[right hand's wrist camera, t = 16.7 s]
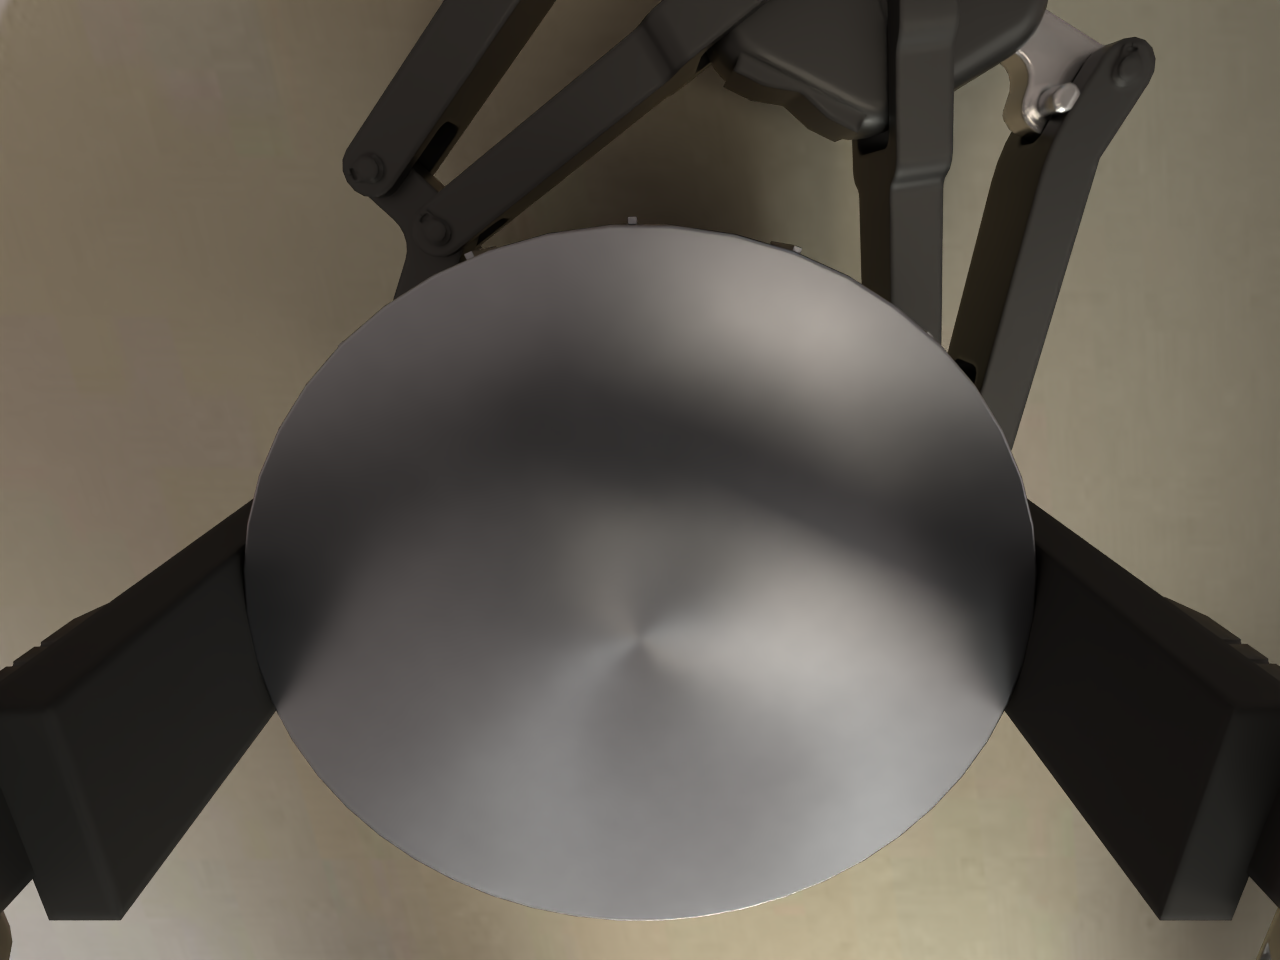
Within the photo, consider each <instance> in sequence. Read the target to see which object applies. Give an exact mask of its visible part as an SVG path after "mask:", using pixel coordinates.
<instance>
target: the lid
mask: <svg viewBox="0 0 1280 960" xmlns="http://www.w3.org/2000/svg"><path fill="white" fill-rule="evenodd" d="M801 250H802V248H800V247H798V246H795V245H790V244H784V243H778V242H771V243H770V244H768V243H764V242H761V241H757V240H754V239H750V238H747V237H744V236H740V235H737V234H732V233H725V232H719V231H712V230H705V229H698V228H691V227H684V226H677V225H670V224H637V217H628V224H611V225H604V226H597V227H589V228H582V229H575V230H568V231H561V232H554V233H548V234H544V235H541V236H537V237H534V238H530V239H527V240H523V241H520V242H516V243H513V244H509V245H505V246H502V247H497V246H496V247H491V248H485V249H480V250H475V251H470V252H468V253H466V254H464V255H465V258H466V261H463V262H461V263H459V264H457V265H455V266H452V267H450V268H448V269H446V270H443V271H441V272H439V273H437V274H434V275H432V276H431V277H429V278H428V279H426V280H425V281H423V282H421V283H420V284H418V285H417V286H415V287H414V288H412V289H410V290H409V291H407V292H406V293H404V294H402V295H401V296H399V297H398V298H396V299H395V300H393V301H391V302H390V303H388V304H387V305H385V306H384V307H383V308H381V309H380V310H379V311H378V312H377V313H376V314H374V315H373V316H372V317H371V318H370V319H369V320H367V321H366V322H365V323H364V324H363V325H362V326H361V327H359V328H358V329H357V330H356V331H355V332H354V333H352V334H351V335H350V336H349V337H348V338H347V339H346V340H344V341H342V342H341V343H340V344H339V345H338V348H337V349H336V350H335V351H334V352H333V353H332V355H331V356H330V357H329V358H328V359H327V360H326V362H325V363H324V364H323V365H322V366H321V368H320V369H319V370H318V371H317V372H316V373H315V375H314V376H313V377H312V378H311V379H310V380H309V382H308V383H307V384H306V385H305V387H304V389H303V390H302V392H301V393H300V395H299V397H298V398H297V400H296V402H295V403H294V405H293V406H292V408H291V410H290V411H289V413H288V415H287V416H286V418H285V419H284V421H283V423H282V424H281V426H280V427H279V429H278V432H277V434H276V436H275V439H274V441H273V444H272V446H271V448H270V451H269V453H268V455H267V458H266V460H265V463H264V465H263V467H262V470H261V472H260V475H259V478H258V482H257V486H256V490H255V495H254V499H253V503H252V507H251V511H250V515H249V519H248V523H247V535H246V546H245V558H244V570H243V571H244V586H245V601H246V613H247V618H248V623H249V627H250V632H251V636H252V641H253V645H254V650H255V655H256V659H257V663H258V667H259V669H260V672H261V675H262V677H263V680H264V683H265V685H266V688H267V691H268V693H269V696H270V699H271V702H272V703H273V705H274V707H275V709H276V711H277V713H278V715H279V716H280V718H281V720H282V722H283V724H284V726H285V728H286V729H287V731H288V733H289V735H290V737H291V739H292V741H293V742H294V743H295V745H296V746H297V747H298V749H299V750H300V752H301V753H302V754H303V756H304V757H305V759H306V760H307V761H308V763H309V764H310V766H311V767H312V768H313V770H314V771H315V773H316V774H317V775H318V776H319V778H320V779H321V780H322V781H323V782H324V783H325V784H326V785H327V786H328V787H329V788H330V790H331V791H332V792H333V793H334V794H335V795H336V796H337V797H338V798H339V799H340V800H341V801H342V803H343V804H344V805H345V806H346V807H347V808H348V809H349V810H351V811H352V812H353V813H354V814H355V815H356V816H358V817H359V818H360V819H361V820H362V821H363V822H365V823H366V824H367V825H368V826H369V827H370V828H372V829H373V830H374V831H375V832H376V833H377V834H379V835H380V836H381V837H383V838H384V839H386V840H387V841H389V842H390V843H392V844H393V845H395V846H396V847H397V848H399V849H400V850H402V851H403V852H405V853H406V854H408V855H409V856H411V857H412V858H414V859H415V860H417V861H419V862H421V863H423V864H424V865H426V866H428V867H430V868H432V869H434V870H436V871H438V872H439V873H441V874H443V875H445V876H447V877H449V878H451V879H452V880H455V881H457V882H460V883H462V884H465V885H467V886H469V887H472V888H474V889H477V890H479V891H482V892H484V893H487V894H489V895H491V896H494V897H498V898H501V899H504V900H508V901H511V902H515V903H518V904H521V905H525V906H528V907H531V908H535V909H541V910H546V911H551V912H556V913H561V914H566V915H571V916H578V917H588V918H598V919H608V920H650V921H661V920H672V919H683V918H693V917H704V916H709V915H714V914H719V913H725V912H730V911H735V910H740V909H746V908H749V907H752V906H756V905H759V904H763V903H766V902H769V901H773V900H776V899H780V898H783V897H787V896H789V895H792V894H794V893H796V892H799V891H801V890H804V889H806V888H809V887H811V886H814V885H816V884H819V883H821V882H824V881H826V880H828V879H830V878H832V877H834V876H836V875H837V874H839V873H841V872H843V871H845V870H847V869H849V868H851V867H853V866H854V865H856V864H858V863H860V862H862V861H864V860H865V859H867V858H868V857H870V856H871V855H873V854H874V853H876V852H877V851H879V850H880V849H882V848H883V847H885V846H886V845H888V844H889V843H891V842H892V841H894V840H895V839H897V838H898V837H899V836H901V835H902V834H903V833H904V832H905V831H907V830H908V829H909V828H910V827H911V826H912V825H914V824H915V823H916V822H917V821H918V820H920V819H921V818H922V817H923V816H924V815H925V814H927V813H928V812H929V811H930V810H931V809H932V808H933V807H934V806H935V805H936V804H937V803H938V802H939V801H940V800H941V799H942V798H943V797H944V796H945V794H946V793H947V792H948V791H949V790H950V789H951V788H952V787H953V786H954V785H955V784H956V783H957V782H958V780H959V779H960V778H961V777H962V776H963V775H964V773H965V772H966V771H967V769H968V768H969V766H970V765H971V764H972V762H973V761H974V759H975V758H976V757H977V755H978V754H979V753H980V751H981V750H982V748H983V747H984V746H985V744H986V743H987V741H988V740H989V738H990V736H991V734H992V732H993V730H994V729H995V727H996V725H997V723H998V721H999V719H1000V718H1001V716H1002V714H1003V712H1004V710H1005V708H1006V706H1007V705H1008V703H1009V700H1010V697H1011V695H1012V692H1013V689H1014V687H1015V684H1016V681H1017V679H1018V676H1019V674H1020V671H1021V668H1022V666H1023V662H1024V658H1025V653H1026V649H1027V644H1028V640H1029V635H1030V630H1031V626H1032V621H1033V617H1034V608H1035V594H1036V580H1037V565H1036V553H1035V541H1034V528H1033V522H1032V518H1031V513H1030V509H1029V505H1028V501H1027V497H1026V493H1025V488H1024V484H1023V480H1022V476H1021V474H1020V471H1019V469H1018V467H1017V464H1016V462H1015V459H1014V457H1013V455H1012V452H1011V450H1010V447H1009V445H1008V442H1007V440H1006V438H1005V435H1004V433H1003V430H1002V429H1001V427H1000V425H999V424H998V422H997V421H996V419H995V417H994V416H993V414H992V412H991V411H990V409H989V407H988V406H987V404H986V402H985V401H984V399H983V398H982V396H981V394H980V393H979V391H978V389H977V388H976V386H975V385H974V384H973V382H972V381H971V380H970V379H969V378H968V377H967V375H966V374H965V373H964V372H963V371H962V369H961V368H960V367H959V366H958V365H957V364H956V362H955V361H954V360H953V359H952V358H951V356H950V355H949V354H948V353H947V352H946V351H945V349H944V348H943V347H942V346H941V345H940V344H939V343H938V342H937V341H936V340H935V339H934V338H932V337H933V335H932V334H931V333H930V332H929V331H926V330H924V329H922V328H921V327H920V326H919V325H917V324H916V323H915V322H914V321H913V320H912V319H911V318H909V317H908V316H907V315H906V314H905V313H904V312H903V311H901V310H900V309H899V308H898V307H897V306H895V305H893V304H892V303H890V302H889V301H887V300H886V299H884V298H882V297H881V296H879V295H878V294H876V293H875V292H873V291H872V290H870V289H868V288H867V287H865V286H864V285H862V284H861V283H859V282H857V281H856V280H854V279H853V278H851V277H850V276H848V275H846V274H843V273H841V272H839V271H837V270H835V269H832V268H830V267H828V266H826V265H824V264H821V263H819V262H817V261H815V260H812V259H810V258H808V257H806V256H804V255H801V254H800V253H801Z"/></svg>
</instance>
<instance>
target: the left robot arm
mask: <svg viewBox="0 0 1280 960" xmlns="http://www.w3.org/2000/svg"><path fill="white" fill-rule="evenodd" d="M555 1H556V0H444V1H443V3H442V4H441V6H440V7H439V9H438V10H437V12H436V14H435V15H434V17H433V18H432V20H431V21H430V23H429V24H428V26H427V27H426V29H425V30H424V32H423V33H422V35H421V36H420V38H419V40H418V41H417V43H416V44H415V46H414V47H413V49H412V50H411V52H410V53H409V55H408V56H407V58H406V59H405V61H404V62H403V64H402V65H401V67H400V69H399V70H398V72H397V73H396V75H395V76H394V78H393V79H392V81H391V82H390V84H389V85H388V87H387V88H386V90H385V91H384V93H383V95H382V96H381V98H380V99H379V101H378V102H377V104H376V105H375V107H374V108H373V110H372V111H371V113H370V114H369V116H368V117H367V119H366V121H365V122H364V124H363V125H362V127H361V128H360V130H359V131H358V133H357V134H356V136H355V137H354V139H353V140H352V142H351V143H350V145H349V147H348V148H347V150H346V152H345V155H344V157H343V173H344V175H345V178H346V180H347V182H348V183H349V185H350V186H351V187H352V188H353V189H354V191H356V192H358V193H360V194H361V195H363V196H368V197H369V198H370V199H372V200H373V201H374V202H375V203H376V204H377V205H378V206H379V207H380V208H381V209H383V210H384V211H385V212H386V213H387V214H388V215H389V216H390V217H391V218H393V219H394V220H395V222H396V223H397V224H398V225H399V226H400V228H401V230H402V231H403V233H404V236H405V239H406V242H407V255H406V260H405V263H404V266H403V270H402V273H401V276H400V279H399V283H398V286H397V289H396V293H395V296H394V299H393V300H395V299H396V298H398V297H399V296H401V295H402V294H404V293H406V292H407V291H409V290H410V289H412V288H414V287H415V286H417V285H418V284H420V283H421V282H423V281H425V280H426V279H428V278H429V277H431V276H432V275H434V274H437V273H439V272H441V271H443V270H446V269H448V268H450V267H452V266H455V265H457V264H459V263H461V262H463V261H466V258H465V255H464V254H466V253H468V252H470V251H475V250H478V249H480V248H482V247H481V246H480V245H481V244H483V243H484V242H485V241H486V240H488V239H489V238H490V237H491V236H493V235H494V234H495V233H496V232H498V231H499V230H500V229H501V228H503V227H504V226H505V225H506V224H508V223H509V222H510V221H511V220H513V219H514V218H515V217H517V216H518V215H519V214H520V213H522V212H523V211H524V210H525V209H527V208H528V207H529V206H530V205H532V204H533V203H534V202H535V201H537V200H538V199H539V198H540V197H542V196H543V195H544V194H545V193H547V192H548V191H549V190H550V189H552V188H553V187H554V186H556V185H557V184H558V183H559V182H561V181H562V180H563V179H564V178H566V177H567V176H568V175H569V174H571V173H572V172H573V171H574V170H576V169H577V168H578V167H579V166H581V165H582V164H583V163H584V162H586V161H587V160H588V159H589V158H591V157H592V156H593V155H594V154H596V153H597V152H598V151H600V150H601V149H602V148H603V147H605V146H606V145H607V144H608V143H610V142H611V141H612V140H613V139H615V138H616V137H617V136H618V135H620V134H621V133H622V132H623V131H625V130H626V129H627V128H628V127H630V126H631V125H632V124H633V123H635V122H636V121H637V120H638V119H640V118H641V117H642V116H644V115H645V114H646V113H647V112H649V111H650V110H651V109H652V108H654V107H655V106H656V105H657V104H659V103H660V102H661V101H662V100H664V99H665V98H667V97H668V96H670V95H672V94H674V93H675V92H677V91H678V90H679V89H681V88H682V87H683V86H685V85H686V84H687V83H688V82H690V81H691V80H692V79H693V78H695V77H696V76H697V75H698V74H700V73H701V72H702V71H703V70H705V69H706V68H707V67H708V66H710V65H711V64H712V65H713V67H714V69H715V70H716V71H717V73H718V74H719V75H720V76H721V77H722V78H723V79H724V80H725V81H726V82H725V84H724V87H725V88H727V89H729V90H731V91H733V92H735V93H737V94H739V95H741V96H743V97H745V98H747V99H749V100H751V101H757V102H763V103H769V104H775V105H781V106H784V107H785V108H786V109H787V110H788V111H790V112H791V113H792V114H793V115H794V116H795V117H796V118H797V119H798V120H799V121H800V122H801V123H802V124H803V125H804V126H805V127H807V128H808V129H809V130H811V131H813V132H815V133H817V134H819V135H821V136H823V137H825V138H827V139H829V140H831V141H834V142H836V141H838V140H841V139H847V140H852V150H853V175H854V181H855V184H856V187H857V189H858V192H859V204H860V242H861V280H862V285H864V286H865V287H867V288H868V289H870V290H872V291H873V292H875V293H876V294H878V295H879V296H881V297H882V298H884V299H886V300H887V301H889V302H890V303H892V304H893V305H895V306H897V307H898V308H899V309H900V310H901V311H903V312H904V313H905V314H906V315H907V316H908V317H909V318H911V319H912V320H913V321H914V322H915V323H916V324H917V325H919V326H920V327H921V328H922V329H924V330H926V331H929V332H930V333H931V334H932V335H933V337H932V338H934V339H935V340H936V341H937V342H938V343H939V344H940V345H941V325H942V239H943V184H944V179H945V177H946V175H947V173H948V171H949V169H950V166H951V162H952V154H953V104H954V91H955V90H957V89H959V88H960V87H962V86H963V85H965V84H967V83H968V82H970V81H972V80H973V79H975V78H977V77H978V76H980V75H981V74H983V73H985V72H986V71H988V70H990V69H991V68H993V67H994V66H996V65H998V64H999V63H1000V64H1001V65H1002V66H1003V67H1004V68H1005V69H1006V71H1007V73H1008V75H1009V80H1010V91H1009V95H1008V98H1007V101H1006V104H1005V107H1004V110H1003V119H1004V122H1005V123H1006V125H1007V127H1008V128H1009V130H1011V131H1012V132H1011V134H1010V136H1009V138H1008V140H1007V141H1006V143H1005V146H1004V148H1003V150H1002V153H1001V155H1000V158H999V160H998V162H997V166H996V169H995V172H994V175H993V179H992V182H991V186H990V190H989V194H988V197H987V201H986V205H985V209H984V213H983V217H982V221H981V225H980V229H979V233H978V236H977V240H976V244H975V248H974V252H973V256H972V260H971V264H970V268H969V272H968V276H967V279H966V283H965V287H964V291H963V295H962V299H961V303H960V307H959V311H958V315H957V319H956V322H955V326H954V330H953V334H952V338H951V342H950V346H949V350H948V354H949V355H950V356H951V358H952V359H953V360H954V361H955V362H956V364H957V365H958V366H959V367H960V368H961V369H962V371H963V372H964V373H965V374H966V375H967V377H968V378H969V379H970V380H971V381H972V382H973V384H974V385H975V386H976V388H977V389H978V391H979V393H980V394H981V396H982V398H983V399H984V401H985V402H986V404H987V406H988V407H989V409H990V411H991V412H992V414H993V416H994V417H995V419H996V421H997V422H998V424H999V425H1000V427H1001V429H1002V430H1003V433H1004V435H1005V438H1006V440H1007V442H1008V445H1009V447H1010V450H1012V447H1013V444H1014V441H1015V438H1016V434H1017V431H1018V428H1019V424H1020V421H1021V418H1022V414H1023V411H1024V408H1025V404H1026V401H1027V398H1028V394H1029V391H1030V388H1031V384H1032V381H1033V378H1034V374H1035V371H1036V368H1037V365H1038V361H1039V358H1040V355H1041V351H1042V348H1043V345H1044V341H1045V338H1046V335H1047V331H1048V328H1049V325H1050V321H1051V318H1052V315H1053V311H1054V308H1055V305H1056V301H1057V298H1058V295H1059V292H1060V288H1061V285H1062V282H1063V278H1064V275H1065V272H1066V268H1067V265H1068V262H1069V258H1070V255H1071V252H1072V248H1073V245H1074V242H1075V238H1076V235H1077V232H1078V229H1079V225H1080V222H1081V219H1082V215H1083V212H1084V209H1085V205H1086V202H1087V199H1088V195H1089V192H1090V189H1091V185H1092V182H1093V179H1094V175H1095V172H1096V169H1097V165H1098V162H1099V159H1100V157H1101V156H1102V154H1103V152H1104V151H1105V149H1106V148H1107V146H1108V145H1109V143H1110V142H1111V140H1112V139H1113V137H1114V136H1115V134H1116V132H1117V131H1118V129H1119V128H1120V126H1121V125H1122V123H1123V122H1124V120H1125V119H1126V117H1127V116H1128V114H1129V113H1130V111H1131V109H1132V108H1133V106H1134V105H1135V103H1136V102H1137V100H1138V99H1139V97H1140V96H1141V94H1142V93H1143V91H1144V89H1145V88H1146V86H1147V85H1148V83H1149V81H1150V79H1151V77H1152V75H1153V73H1154V68H1155V55H1154V52H1153V49H1152V47H1151V46H1150V45H1149V44H1148V43H1147V42H1146V41H1145V40H1143V39H1140V38H1137V37H1132V38H1125V39H1122V40H1119V41H1117V42H1114V43H1111V44H1109V45H1102V44H1100V43H1098V42H1097V41H1095V40H1094V39H1092V38H1090V37H1089V36H1087V35H1086V34H1084V33H1083V32H1081V31H1079V30H1078V29H1076V28H1075V27H1073V26H1071V25H1070V24H1068V23H1067V22H1065V21H1064V20H1062V19H1060V18H1059V17H1057V16H1056V15H1054V14H1053V13H1051V12H1049V11H1048V10H1046V7H1047V2H1048V0H662V1H661V2H660V3H659V4H658V5H657V6H656V7H655V8H653V9H652V10H651V11H650V13H649V14H648V15H647V16H646V17H645V18H644V20H643V21H642V22H641V23H640V25H639V26H638V27H637V28H636V29H635V30H634V31H633V32H631V33H630V34H629V35H628V36H627V37H625V38H624V39H623V40H622V41H621V42H619V43H618V44H617V45H616V46H615V47H613V48H612V49H611V50H610V51H609V52H607V53H606V54H605V55H604V56H602V57H601V58H600V59H599V60H598V61H596V62H595V63H594V64H593V65H592V66H590V67H589V68H588V69H587V70H586V71H584V72H583V73H582V74H581V75H580V76H578V77H577V78H576V79H575V80H573V81H572V82H571V83H570V84H569V85H567V86H566V87H565V88H564V89H563V90H561V91H560V92H559V93H558V94H557V95H555V96H554V97H553V98H552V99H551V100H549V101H548V102H547V103H546V104H544V105H543V106H542V107H541V108H540V109H538V110H537V111H536V112H535V113H534V114H532V115H531V116H530V117H529V118H528V119H526V120H525V121H524V122H523V123H522V124H520V125H519V126H518V127H517V128H515V129H514V130H513V131H512V132H511V133H509V134H508V135H507V136H506V137H505V138H503V139H502V140H501V141H500V142H499V143H497V144H496V145H495V146H494V147H493V148H491V149H490V150H489V151H488V152H486V153H485V154H484V155H483V156H482V157H480V158H479V159H478V160H477V161H476V162H474V163H473V164H472V165H471V166H470V167H468V168H467V169H466V170H465V171H464V172H462V173H461V174H460V175H459V176H457V177H456V178H455V179H454V180H453V181H451V182H450V183H449V184H448V185H447V186H444V185H443V184H441V183H440V182H439V181H438V180H437V179H436V178H435V177H434V176H433V175H434V174H435V172H436V171H437V169H438V168H439V167H440V165H441V164H442V162H443V161H444V159H445V158H446V157H447V155H448V154H449V152H450V151H451V149H452V148H453V147H454V145H455V144H456V142H457V141H458V139H459V138H460V137H461V135H462V134H463V132H464V131H465V129H466V128H467V127H468V125H469V124H470V122H471V121H472V119H473V118H474V117H475V115H476V114H477V112H478V111H479V109H480V108H481V107H482V105H483V104H484V102H485V101H486V99H487V98H488V97H489V95H490V94H491V92H492V91H493V89H494V88H495V87H496V85H497V84H498V82H499V81H500V79H501V78H502V77H503V75H504V74H505V72H506V71H507V69H508V68H509V67H510V65H511V64H512V62H513V61H514V60H515V58H516V57H517V55H518V54H519V52H520V51H521V50H522V48H523V47H524V45H525V44H526V42H527V41H528V40H529V38H530V37H531V35H532V34H533V32H534V31H535V30H536V28H537V27H538V25H539V24H540V22H541V21H542V20H543V18H544V17H545V15H546V14H547V12H548V11H549V10H550V8H551V7H552V5H553V4H554V2H555Z"/></svg>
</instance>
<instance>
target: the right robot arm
mask: <svg viewBox="0 0 1280 960" xmlns="http://www.w3.org/2000/svg"><path fill="white" fill-rule="evenodd" d="M1027 501H1028V505H1029V509H1030V513H1031V518H1032V522H1033V528H1034V541H1035V553H1036V565H1037V580H1036V594H1035V608H1034V617H1033V621H1032V626H1031V630H1030V635H1029V640H1028V644H1027V649H1026V653H1025V658H1024V662H1023V666H1022V668H1021V671H1020V674H1019V676H1018V679H1017V681H1016V684H1015V687H1014V689H1013V692H1012V695H1011V697H1010V700H1009V703H1008V705H1007V706H1006V708H1005V710H1004V711H1005V712H1006V713H1007V715H1008V716H1009V717H1010V719H1011V720H1012V721H1013V723H1014V724H1015V726H1016V727H1017V728H1018V730H1019V731H1020V732H1021V734H1022V735H1023V736H1024V738H1025V739H1026V740H1027V742H1028V743H1029V744H1030V746H1031V747H1032V748H1033V750H1034V751H1035V753H1036V754H1037V755H1038V757H1039V758H1040V759H1041V761H1042V762H1043V763H1044V765H1045V766H1046V767H1047V769H1048V770H1049V771H1050V773H1051V774H1052V775H1053V777H1054V778H1055V780H1056V781H1057V782H1058V784H1059V785H1060V786H1061V788H1062V789H1063V790H1064V792H1065V793H1066V794H1067V796H1068V797H1069V798H1070V800H1071V801H1072V802H1073V804H1074V805H1075V806H1076V808H1077V809H1078V811H1079V812H1080V813H1081V815H1082V816H1083V817H1084V819H1085V820H1086V821H1087V823H1088V824H1089V825H1090V827H1091V828H1092V829H1093V831H1094V832H1095V833H1096V835H1097V836H1098V838H1099V839H1100V840H1101V842H1102V843H1103V844H1104V846H1105V847H1106V848H1107V850H1108V851H1109V852H1110V854H1111V855H1112V856H1113V858H1114V859H1115V860H1116V862H1117V863H1118V865H1119V866H1120V867H1121V869H1122V870H1123V871H1124V873H1125V874H1126V875H1127V877H1128V878H1129V879H1130V881H1131V882H1132V883H1133V885H1134V886H1135V887H1136V889H1137V890H1138V892H1139V893H1140V894H1141V896H1142V897H1143V898H1144V900H1145V901H1146V902H1147V904H1148V905H1149V906H1150V908H1151V909H1152V910H1153V912H1154V913H1155V914H1156V916H1157V917H1158V918H1159V920H1232V918H1233V915H1234V913H1235V910H1236V908H1237V905H1238V903H1239V900H1240V898H1241V895H1242V892H1243V890H1244V887H1245V885H1246V882H1247V880H1248V877H1249V876H1250V877H1251V878H1252V880H1253V881H1254V882H1255V883H1256V884H1257V885H1258V886H1259V887H1260V888H1261V889H1262V890H1263V891H1264V892H1265V894H1266V895H1267V896H1268V897H1269V898H1270V899H1271V900H1272V901H1273V902H1274V903H1275V904H1276V905H1277V906H1278V909H1277V911H1276V914H1275V916H1274V918H1273V921H1272V923H1271V925H1270V928H1269V930H1268V932H1267V935H1266V937H1265V939H1264V942H1263V944H1262V946H1261V949H1260V951H1259V954H1258V956H1257V958H1256V960H1280V667H1279V666H1278V665H1276V664H1269V662H1268V658H1266V657H1265V656H1264V655H1262V654H1261V653H1259V652H1258V651H1256V650H1255V649H1254V648H1252V647H1251V646H1249V645H1248V644H1241V639H1239V638H1238V637H1236V636H1235V635H1234V634H1232V633H1231V632H1229V631H1228V630H1226V629H1225V628H1224V627H1222V626H1221V625H1219V624H1218V623H1216V622H1215V621H1214V620H1212V619H1211V618H1209V617H1208V616H1206V615H1203V614H1201V613H1199V612H1197V611H1195V610H1192V609H1190V608H1188V607H1186V606H1184V605H1181V604H1179V603H1177V602H1175V601H1173V600H1171V599H1168V598H1166V597H1163V596H1161V595H1160V594H1158V593H1157V592H1156V591H1154V590H1153V589H1152V588H1150V587H1149V586H1147V585H1146V584H1145V583H1143V582H1142V581H1140V580H1139V579H1138V578H1136V577H1135V576H1134V575H1132V574H1131V573H1129V572H1128V571H1127V570H1125V569H1124V568H1122V567H1121V566H1120V565H1118V564H1117V563H1116V562H1114V561H1113V560H1111V559H1110V558H1109V557H1107V556H1106V555H1104V554H1103V553H1102V552H1100V551H1099V550H1098V549H1096V548H1095V547H1093V546H1092V545H1091V544H1089V543H1088V542H1086V541H1085V540H1084V539H1082V538H1081V537H1080V536H1078V535H1077V534H1075V533H1074V532H1073V531H1071V530H1070V529H1068V528H1067V527H1066V526H1064V525H1063V524H1062V523H1060V522H1059V521H1057V520H1056V519H1055V518H1053V517H1052V516H1050V515H1049V514H1048V513H1046V512H1045V511H1044V510H1042V509H1041V508H1039V507H1038V506H1037V505H1035V504H1034V503H1032V502H1031V501H1030V500H1028V499H1027ZM252 503H253V499H252V500H251V501H249V502H248V503H247V504H245V505H244V506H243V507H241V508H240V509H238V510H237V511H236V512H234V513H233V514H231V515H230V516H229V517H227V518H226V519H225V520H223V521H222V522H220V523H219V524H218V525H216V526H215V527H213V528H212V529H211V530H209V531H208V532H207V533H205V534H204V535H202V536H201V537H200V538H198V539H197V540H195V541H194V542H193V543H191V544H190V545H189V546H187V547H186V548H184V549H183V550H182V551H180V552H179V553H177V554H176V555H175V556H173V557H172V558H171V559H169V560H168V561H166V562H165V563H164V564H162V565H161V566H159V567H158V568H157V569H155V570H154V571H152V572H151V573H150V574H148V575H147V576H146V577H144V578H143V579H141V580H140V581H139V582H137V583H136V584H134V585H133V586H132V587H130V588H129V589H128V590H126V591H125V592H123V593H122V594H121V595H119V596H118V597H116V598H115V599H114V600H112V601H111V602H110V603H108V604H105V605H103V606H101V607H99V608H97V609H95V610H92V611H90V612H88V613H86V614H84V615H82V616H79V617H77V618H75V619H73V620H72V621H70V622H69V623H67V624H66V625H65V626H63V627H62V628H60V629H59V630H57V631H56V632H55V633H53V634H52V635H50V636H49V637H48V638H46V639H45V640H43V641H42V642H41V646H40V647H33V648H32V649H31V650H29V651H28V652H26V653H25V654H23V655H22V656H21V657H19V658H18V659H16V660H15V661H14V662H13V663H14V664H13V666H12V667H5V668H4V669H2V670H1V671H0V960H9V957H10V952H11V947H12V937H11V930H10V925H9V923H8V921H7V918H6V916H5V914H4V911H3V910H4V909H5V908H6V907H7V906H8V905H9V904H10V903H11V902H12V901H13V899H14V898H15V897H16V896H17V895H18V894H19V893H20V892H21V891H22V890H23V889H24V888H25V886H26V885H27V884H28V883H29V882H30V881H31V880H32V879H33V881H34V883H35V886H36V888H37V891H38V893H39V896H40V898H41V901H42V903H43V906H44V908H45V911H46V913H47V916H48V918H49V920H121V919H122V918H123V916H124V915H125V914H126V912H127V911H128V910H129V908H130V907H131V906H132V904H133V903H134V902H135V900H136V899H137V898H138V896H139V895H140V894H141V892H142V891H143V889H144V888H145V887H146V885H147V884H148V883H149V881H150V880H151V879H152V877H153V876H154V875H155V873H156V872H157V871H158V869H159V868H160V867H161V865H162V864H163V862H164V861H165V860H166V858H167V857H168V856H169V854H170V853H171V852H172V850H173V849H174V848H175V846H176V845H177V844H178V842H179V841H180V840H181V838H182V837H183V835H184V834H185V833H186V831H187V830H188V829H189V827H190V826H191V825H192V823H193V822H194V821H195V819H196V818H197V817H198V815H199V814H200V813H201V811H202V810H203V808H204V807H205V806H206V804H207V803H208V802H209V800H210V799H211V798H212V796H213V795H214V794H215V792H216V791H217V790H218V788H219V787H220V786H221V784H222V783H223V781H224V780H225V779H226V777H227V776H228V775H229V773H230V772H231V771H232V769H233V768H234V767H235V765H236V764H237V763H238V761H239V760H240V759H241V757H242V756H243V755H244V753H245V752H246V750H247V749H248V748H249V746H250V745H251V744H252V742H253V741H254V740H255V738H256V737H257V736H258V734H259V733H260V732H261V730H262V729H263V728H264V726H265V725H266V723H267V722H268V721H269V719H270V718H271V717H272V715H273V714H274V713H275V711H276V709H275V707H274V705H273V703H272V702H271V699H270V696H269V693H268V691H267V688H266V685H265V683H264V680H263V677H262V675H261V672H260V669H259V667H258V663H257V659H256V655H255V650H254V645H253V641H252V636H251V632H250V627H249V623H248V618H247V613H246V601H245V586H244V571H243V570H244V558H245V546H246V535H247V523H248V519H249V515H250V511H251V507H252Z"/></svg>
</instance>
